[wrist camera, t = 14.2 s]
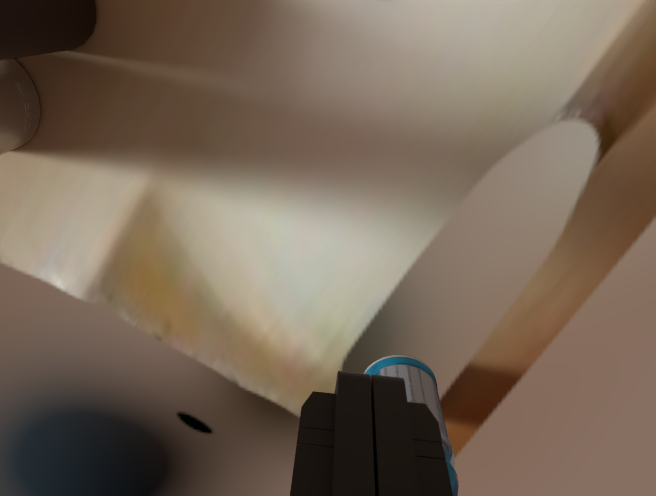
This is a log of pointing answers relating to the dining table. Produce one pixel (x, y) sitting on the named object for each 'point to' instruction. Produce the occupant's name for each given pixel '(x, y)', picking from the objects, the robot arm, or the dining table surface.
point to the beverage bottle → (419, 395)
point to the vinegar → (44, 26)
